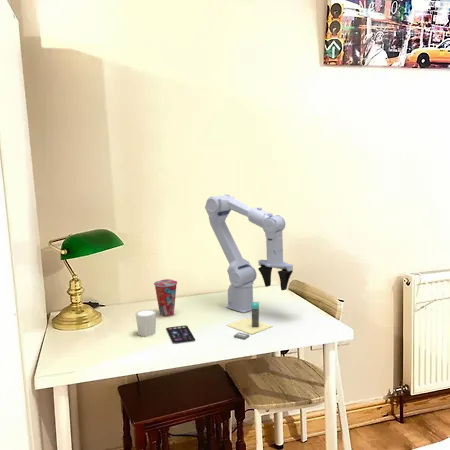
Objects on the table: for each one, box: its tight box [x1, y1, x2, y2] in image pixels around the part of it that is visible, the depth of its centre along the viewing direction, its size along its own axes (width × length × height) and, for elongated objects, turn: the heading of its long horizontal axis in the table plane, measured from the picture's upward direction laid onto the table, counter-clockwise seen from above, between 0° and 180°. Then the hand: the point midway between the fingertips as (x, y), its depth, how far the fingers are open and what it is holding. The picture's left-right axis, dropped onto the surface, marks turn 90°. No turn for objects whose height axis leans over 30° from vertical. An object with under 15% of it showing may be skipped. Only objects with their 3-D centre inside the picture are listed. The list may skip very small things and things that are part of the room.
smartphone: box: [165, 324, 196, 345], centre depth 166 cm, size 8×1×15 cm
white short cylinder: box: [135, 309, 157, 337], centre depth 167 cm, size 7×7×7 cm
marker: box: [251, 301, 260, 327], centre depth 170 cm, size 3×3×8 cm
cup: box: [153, 278, 178, 318], centre depth 185 cm, size 9×8×12 cm
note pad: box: [226, 317, 273, 336], centre depth 172 cm, size 12×10×1 cm
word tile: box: [233, 332, 250, 340], centre depth 162 cm, size 4×3×1 cm
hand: (275, 287), depth 180 cm, fingers open, 7 cm apart
